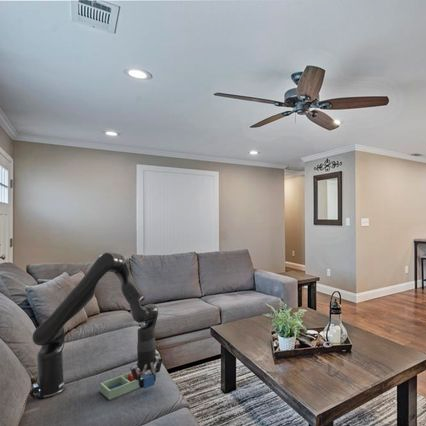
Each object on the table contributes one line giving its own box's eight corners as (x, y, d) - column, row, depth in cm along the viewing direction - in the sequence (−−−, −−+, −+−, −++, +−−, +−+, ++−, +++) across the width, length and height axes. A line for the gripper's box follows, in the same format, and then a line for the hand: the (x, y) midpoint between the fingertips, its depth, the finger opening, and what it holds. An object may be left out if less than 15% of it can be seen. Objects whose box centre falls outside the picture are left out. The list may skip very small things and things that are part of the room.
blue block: (144, 388, 148) (144, 379, 148) (140, 385, 151) (140, 376, 151) (154, 384, 152) (154, 375, 152) (150, 381, 154) (149, 372, 154)
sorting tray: (109, 400, 145) (109, 391, 145) (100, 391, 152) (99, 383, 152) (149, 383, 159) (149, 375, 159) (139, 376, 166) (139, 368, 166)
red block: (131, 385, 156) (131, 376, 156) (128, 382, 159) (127, 373, 159) (141, 381, 159) (141, 372, 159) (137, 378, 162) (137, 370, 162)
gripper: (158, 341, 159) (159, 376, 159) (126, 351, 148) (127, 388, 148) (165, 345, 154) (166, 380, 154) (133, 355, 143) (134, 394, 143)
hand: (147, 384), depth 151 cm, fingers closed on blue block, 4 cm apart
